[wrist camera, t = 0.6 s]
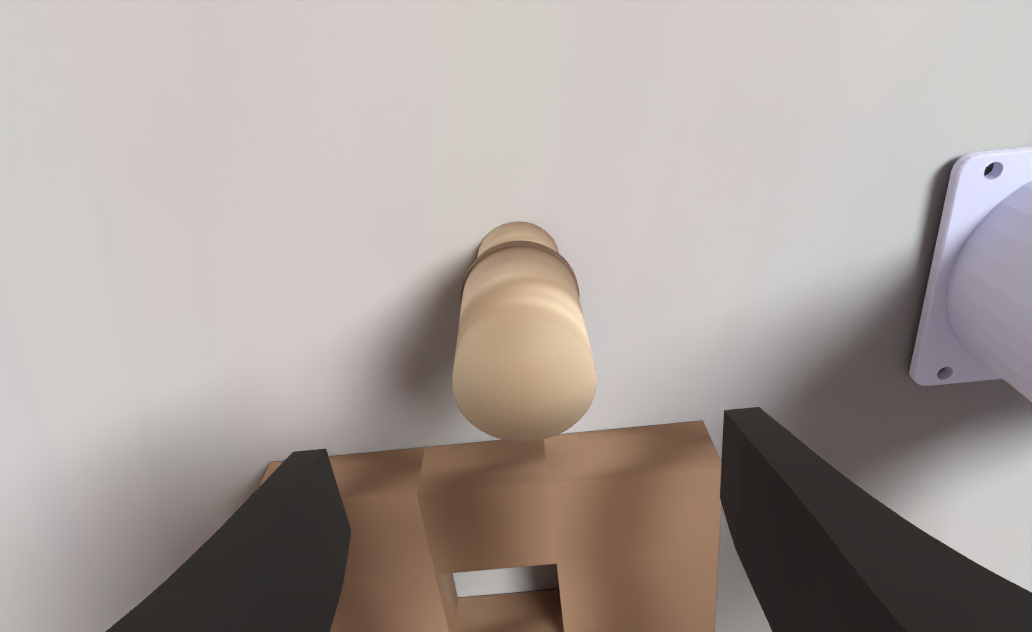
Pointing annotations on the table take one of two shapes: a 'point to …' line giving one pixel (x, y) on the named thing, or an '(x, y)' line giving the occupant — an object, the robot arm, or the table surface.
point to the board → (535, 532)
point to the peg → (522, 339)
